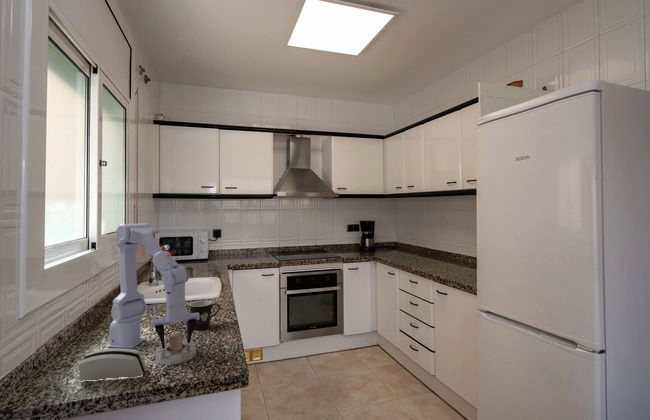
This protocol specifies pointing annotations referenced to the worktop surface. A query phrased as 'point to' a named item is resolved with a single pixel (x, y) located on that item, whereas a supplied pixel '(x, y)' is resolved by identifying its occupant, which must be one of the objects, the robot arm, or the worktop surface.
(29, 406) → the worktop surface
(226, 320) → the worktop surface
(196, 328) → the coffee mug
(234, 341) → the worktop surface
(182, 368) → the worktop surface
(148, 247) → the robot arm
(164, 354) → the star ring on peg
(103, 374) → the grey arched block
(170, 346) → the tan cylinder
